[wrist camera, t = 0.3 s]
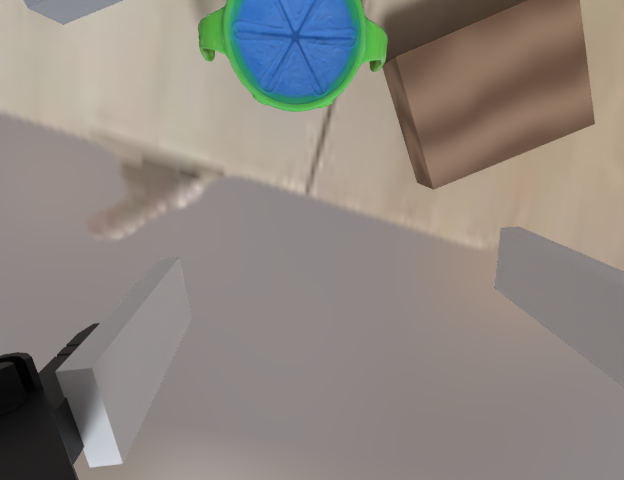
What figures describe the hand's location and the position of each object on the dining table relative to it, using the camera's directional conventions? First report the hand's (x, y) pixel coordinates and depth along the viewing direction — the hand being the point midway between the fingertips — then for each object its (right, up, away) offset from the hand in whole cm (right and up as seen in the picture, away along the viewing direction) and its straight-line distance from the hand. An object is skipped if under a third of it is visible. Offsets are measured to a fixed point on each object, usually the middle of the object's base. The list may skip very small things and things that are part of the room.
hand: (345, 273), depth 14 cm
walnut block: (+16, +17, +23) cm, 33 cm away
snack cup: (-3, +20, +21) cm, 29 cm away
